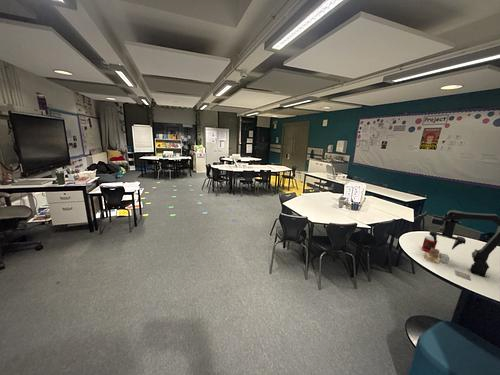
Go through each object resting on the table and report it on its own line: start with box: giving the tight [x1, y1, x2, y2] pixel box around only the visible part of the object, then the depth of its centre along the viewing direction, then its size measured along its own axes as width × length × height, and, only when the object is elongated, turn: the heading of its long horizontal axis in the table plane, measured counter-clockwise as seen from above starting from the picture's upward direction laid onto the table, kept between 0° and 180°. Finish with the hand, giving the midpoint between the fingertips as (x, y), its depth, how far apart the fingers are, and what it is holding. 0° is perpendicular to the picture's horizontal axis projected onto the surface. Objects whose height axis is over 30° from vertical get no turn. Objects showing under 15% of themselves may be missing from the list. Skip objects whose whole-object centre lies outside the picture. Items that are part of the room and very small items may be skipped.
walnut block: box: [429, 248, 440, 258], centre depth 150 cm, size 4×4×5 cm
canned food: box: [421, 235, 438, 253], centre depth 164 cm, size 8×8×11 cm
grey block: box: [438, 252, 450, 264], centre depth 151 cm, size 4×4×5 cm
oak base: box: [424, 251, 440, 265], centre depth 152 cm, size 7×7×4 cm
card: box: [454, 270, 472, 281], centre depth 136 cm, size 7×7×1 cm
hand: (443, 246), depth 149 cm, fingers open, 9 cm apart
